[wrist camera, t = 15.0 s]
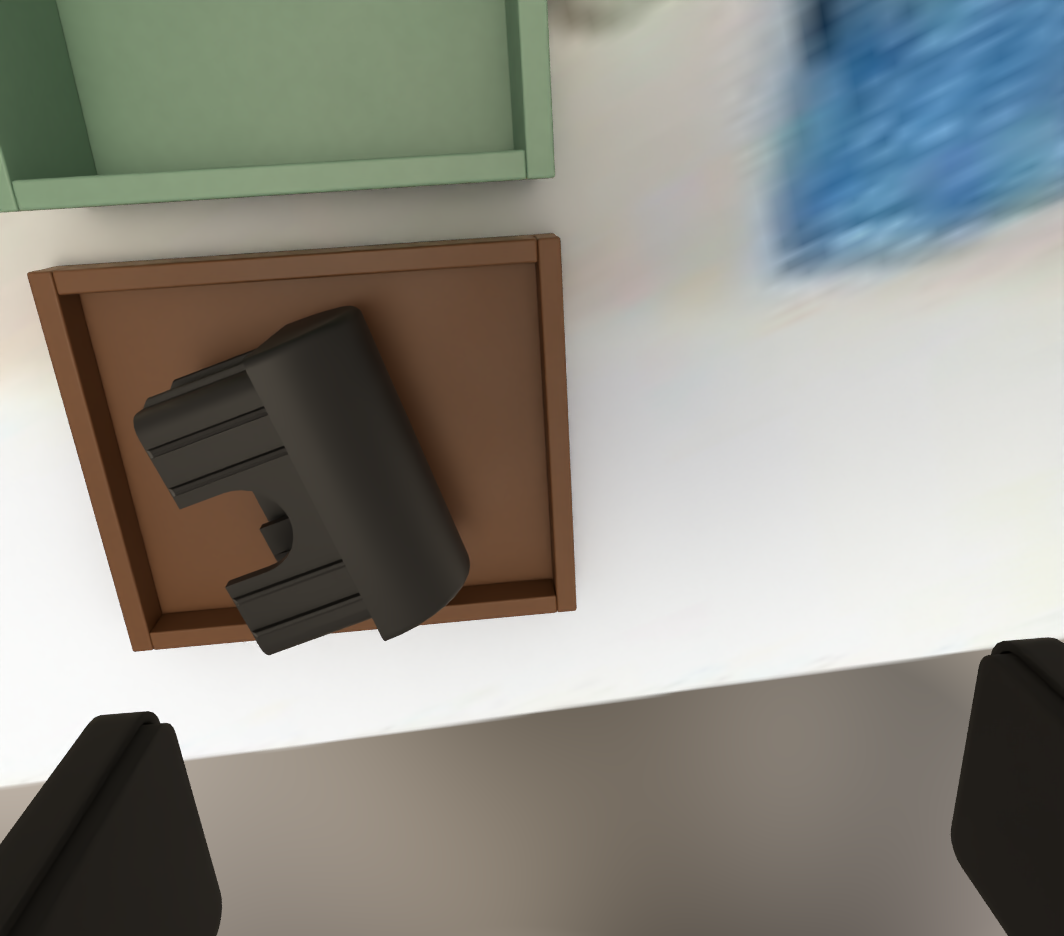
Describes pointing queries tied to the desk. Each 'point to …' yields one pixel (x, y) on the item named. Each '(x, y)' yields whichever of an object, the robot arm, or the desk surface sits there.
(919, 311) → the desk surface
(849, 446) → the desk surface
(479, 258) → the tray
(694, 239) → the desk surface
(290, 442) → the end cap
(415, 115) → the tote
